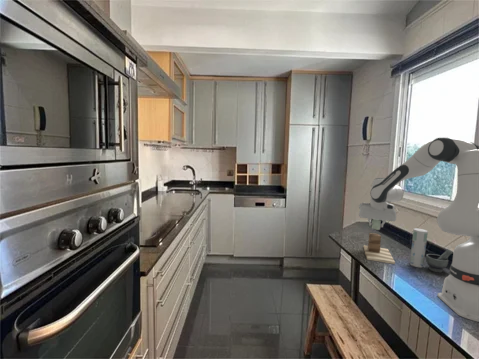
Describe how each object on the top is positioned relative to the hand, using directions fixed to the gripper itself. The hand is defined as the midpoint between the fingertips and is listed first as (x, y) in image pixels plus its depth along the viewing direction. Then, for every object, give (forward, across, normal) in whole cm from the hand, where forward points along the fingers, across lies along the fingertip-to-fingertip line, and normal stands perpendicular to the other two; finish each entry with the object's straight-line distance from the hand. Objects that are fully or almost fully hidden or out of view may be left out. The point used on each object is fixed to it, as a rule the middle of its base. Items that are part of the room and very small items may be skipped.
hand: (375, 226), depth 160 cm
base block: (+15, 0, 0) cm, 15 cm away
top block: (+10, 0, 0) cm, 10 cm away
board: (+16, +2, -4) cm, 17 cm away
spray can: (+17, +20, -11) cm, 28 cm away
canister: (+2, 0, 0) cm, 2 cm away
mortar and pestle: (+17, +29, -13) cm, 36 cm away
